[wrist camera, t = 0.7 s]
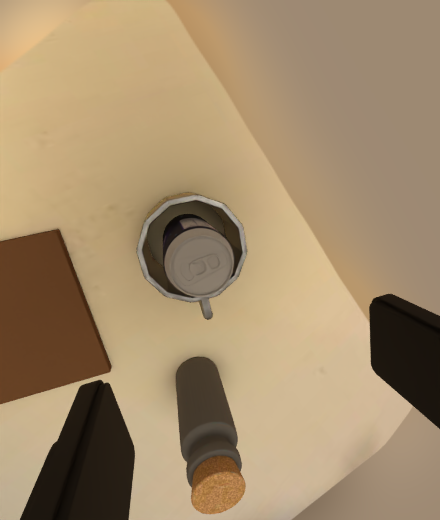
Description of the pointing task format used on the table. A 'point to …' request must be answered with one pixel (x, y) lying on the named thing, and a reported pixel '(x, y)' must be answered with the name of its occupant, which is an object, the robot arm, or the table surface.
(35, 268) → the mat
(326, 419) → the table surface
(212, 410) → the bottle
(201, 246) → the beverage can
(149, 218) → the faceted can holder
